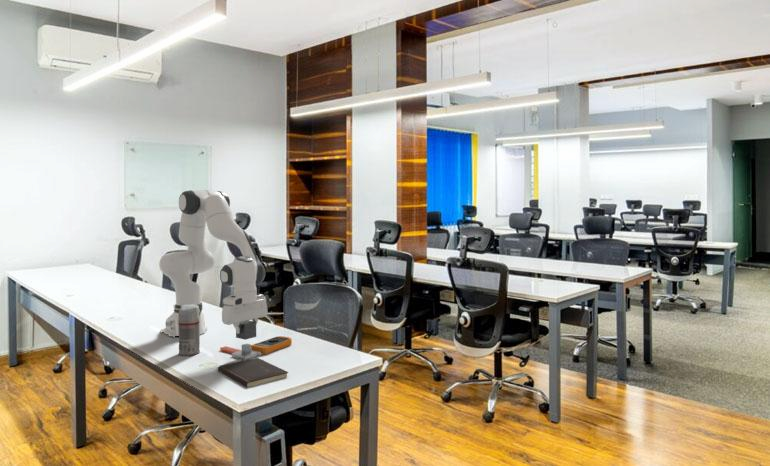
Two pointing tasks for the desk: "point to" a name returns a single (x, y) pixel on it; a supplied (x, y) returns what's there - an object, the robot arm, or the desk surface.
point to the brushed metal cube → (247, 330)
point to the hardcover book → (252, 372)
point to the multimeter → (272, 344)
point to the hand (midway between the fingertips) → (246, 331)
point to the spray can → (189, 330)
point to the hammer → (242, 352)
